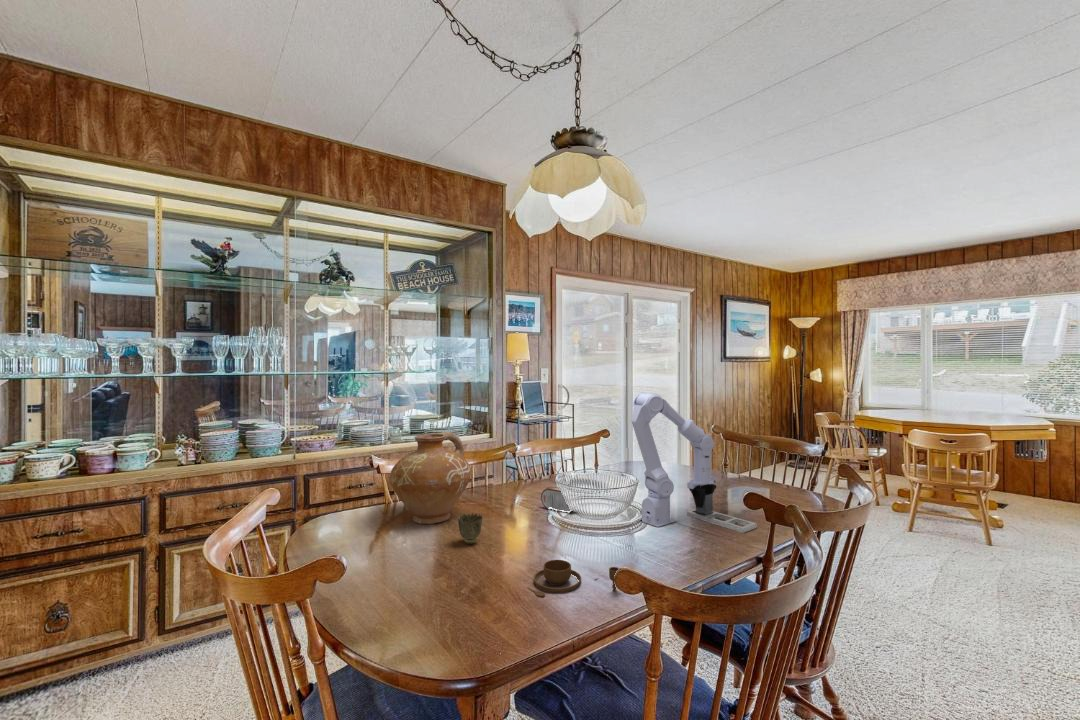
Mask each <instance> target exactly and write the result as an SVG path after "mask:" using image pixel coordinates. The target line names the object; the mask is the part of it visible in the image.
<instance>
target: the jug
mask: <svg viewBox="0 0 1080 720" xmlns="http://www.w3.org/2000/svg"><path fill="white" fill-rule="evenodd" d="M414 441H415V442H417V449H416V450H414V451H413V452H410V453H409V454H406V455H404V456H403V457H402V458H400V459H399V460H398V461H397V462H396V463H395V464H394V466H393V467H392V468H391V471H390V473H389V484H390V486H391V488H392V490H393V492H394V493H395V494H396V496H397V497H398V499H399V500H400V501H401V502H402V504H403V506H405V507H406V508H407V509H408V511H409V512H411V513H412V515H413V517H412V521H413V522H415V523H418V524H421V525H433V524H439V523H442V522H446V521H448V520H449V519H450V518H451V516H452V515H451V510H452V509H453V508H454V506H455V505H456V503H457V502H458V501H459V500H460V498H461V497H462V495H463V494H464V492H465V491H466V488H467V487H468V484H469V483H470V481H471V476H472V469H471V466H470V464H469V462H468V461H467V459H466V458H465V455H464V453H465V452H464V450H465V449H464V445H463V442H462V440H461V438H460V437H459V436H458V435H457V434H455V433H454V432H450V431H443V432H436V433H435V432H434V433H425V434H420V435H416V436H414ZM444 441H450V442H452V443H453V445H454V446H455V449H454V450H451V449H447V448H445V447H444V446H443V445H444V444H443V442H444Z"/></svg>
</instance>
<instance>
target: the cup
mask: <svg viewBox="0 0 1080 720" xmlns="http://www.w3.org/2000/svg"><path fill="white" fill-rule="evenodd" d="M457 521H458V528H459V529H458V530H459V534H460V536H461V538H463V539H464V541H463V542H464V543H465V544H467V545H473V544H475V543H476V542H477V538H478V537H479V536H480V534H481V532H482V526H483V514H480V513H478V514H477V513H474V512H473V513H468V514H466V513H463V514H460V515H459V517H457Z"/></svg>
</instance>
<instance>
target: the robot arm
mask: <svg viewBox="0 0 1080 720" xmlns="http://www.w3.org/2000/svg"><path fill="white" fill-rule="evenodd" d="M632 405H633V406H632V407H633V410H632V416H631V423H632V427H633V430H634V433H635V438H636V441H637V442H638V443H637V444H638V447H639V450H640V453H641V456H642V459H643V463H644V466H645V469H646V470H645V471H644V473H643V474H644V477H645V478H644V485H645V488H646V489H647V493H648V495H647V497H645V498H644V499H643V500H642V502H641V519H642V521H641V522H643V523H645V524H648V525H651V526H654V527H659V528H660V527H661V526H665V525H668V524H672V523H674V522H676V521H677V520H676V519H673V518H671V495H672V494H673V492H674V489H675V486H674V485H675V484H674V483H673V481H672V480H671V479H670V478H669V475H668V473H667V472H666V470H665V469H664V468H663V466H662V462H661V459H660V456H659V453H658V452H659V451H658V449H657V446H656V442H655V440H654V439H655V438H654V436H653V433H652V429H651V426H650V423H651V421H652V420H653V419H654V418H655V417H656V416H657V415H658V414H659V413H660V414H662V415H663V416H664V417H665V418H666V419H668V420H669V421H671V422H672V423H673V424H674V425H676V426H677V431H678V433H679V434H680V435H682V436H683V437H684V439H686V440H688V441H689V443H690V446H691V447H693V479H692V480H691V479H690V481H687V484H686V485H687V489H688V490H689V491H690V492H691V495H692V497H693V500H694V504H695V508H696V507H699V508H702V504H703V496H704V492H709V493H713V494H714V492H715V490H716V489H717V485H716V483H718V476H712V450H713V448H714V447H715V445H716V444H715V443H716V442H715V441H714V439H713V437H712V436H711V435H710V434H707V433H705V430H704V429H703V428H700V427H699V426H697V425H696V424H695V423H696V421H695V420H693V419H689V418H686V419H685V418H684V417H683V416H682V415H681V414H679V412H677V410H675V408H673V406H671V404H670V403H668V401H667V400H666V399H664V398H663V397H662V396H661V395H660V394H653V393H646V392H640V393H638V394H637V395H636V397H635V398H634V399H633V400H632Z"/></svg>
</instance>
